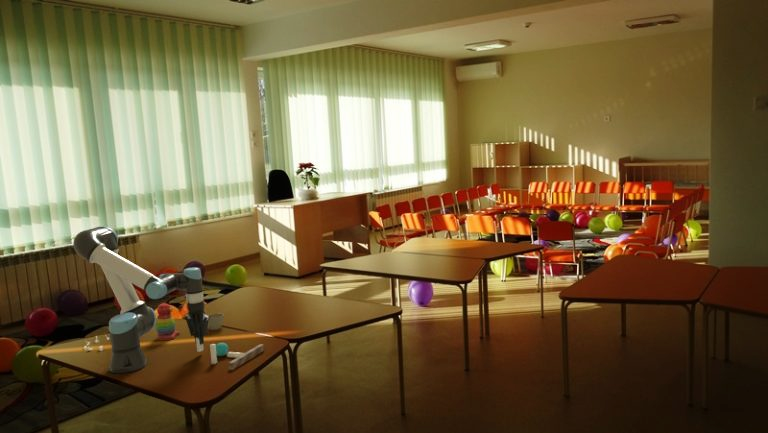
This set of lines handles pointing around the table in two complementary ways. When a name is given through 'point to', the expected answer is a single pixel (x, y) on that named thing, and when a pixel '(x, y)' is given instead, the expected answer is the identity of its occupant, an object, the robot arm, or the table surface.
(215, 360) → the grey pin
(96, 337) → the game piece set
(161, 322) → the stacking bear
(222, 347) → the ball
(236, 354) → the ivory pin
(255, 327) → the table surface
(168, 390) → the table surface
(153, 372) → the table surface
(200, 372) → the table surface
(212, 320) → the grey round cup
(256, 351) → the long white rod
